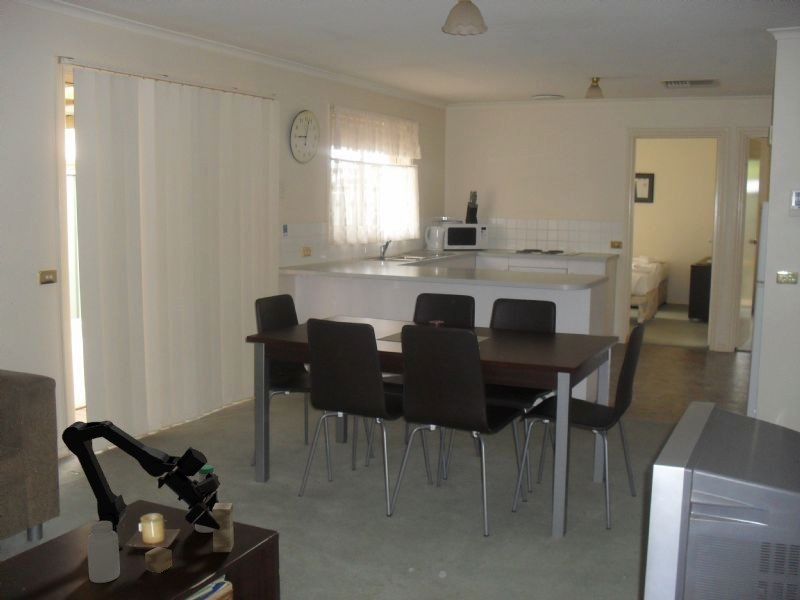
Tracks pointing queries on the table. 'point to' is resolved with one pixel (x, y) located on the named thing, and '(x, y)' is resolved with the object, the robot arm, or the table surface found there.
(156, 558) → the oak cube
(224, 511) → the maple block
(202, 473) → the milk bottle
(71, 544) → the table surface
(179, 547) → the table surface
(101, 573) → the pill bottle
